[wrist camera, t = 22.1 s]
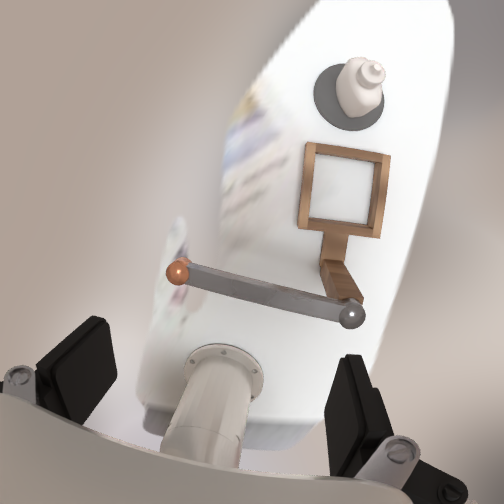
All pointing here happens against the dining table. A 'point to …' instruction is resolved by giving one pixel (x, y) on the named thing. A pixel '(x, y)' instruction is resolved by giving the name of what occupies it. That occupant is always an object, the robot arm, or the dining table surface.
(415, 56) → the dining table surface
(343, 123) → the mat
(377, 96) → the eye dropper bottle
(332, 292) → the wooden frame with post
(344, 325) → the ball-tipped grey rod
